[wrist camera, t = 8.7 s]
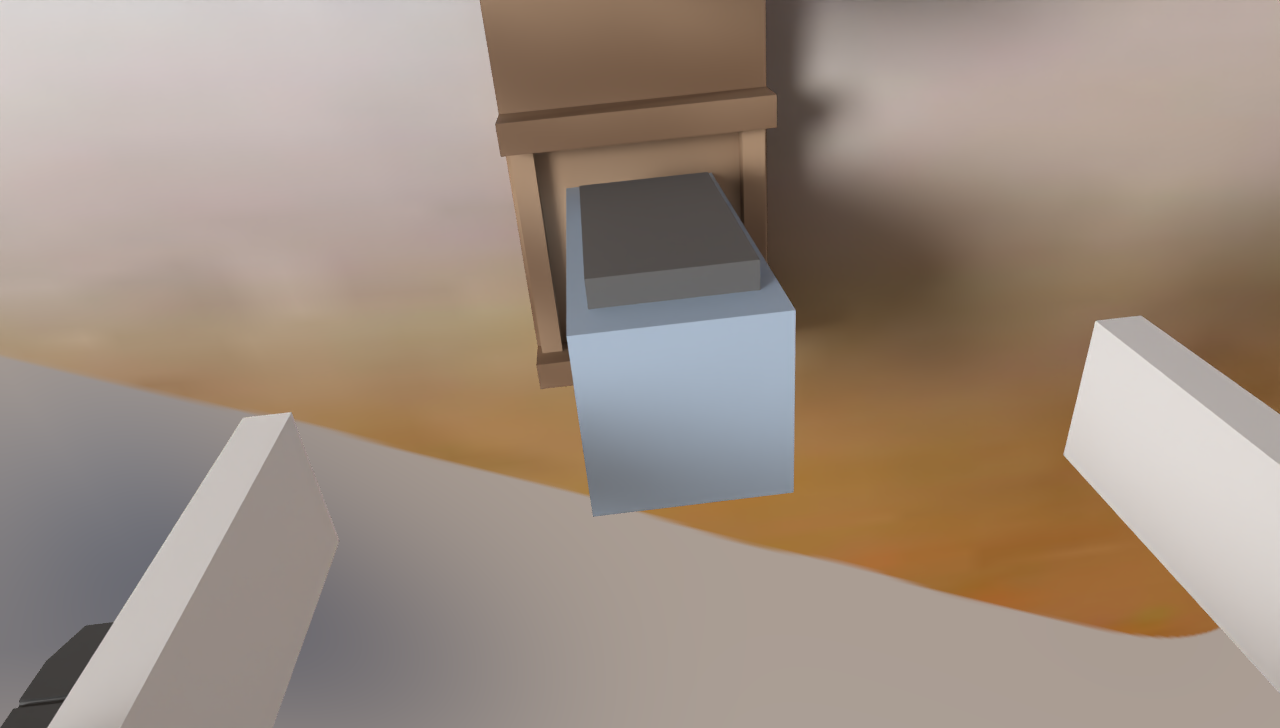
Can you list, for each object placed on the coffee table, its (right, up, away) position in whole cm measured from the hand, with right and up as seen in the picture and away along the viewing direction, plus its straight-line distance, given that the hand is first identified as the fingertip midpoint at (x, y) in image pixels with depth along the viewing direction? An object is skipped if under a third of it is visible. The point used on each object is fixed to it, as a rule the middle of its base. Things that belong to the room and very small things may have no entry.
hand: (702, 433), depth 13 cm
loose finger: (-1, +4, +9) cm, 10 cm away
